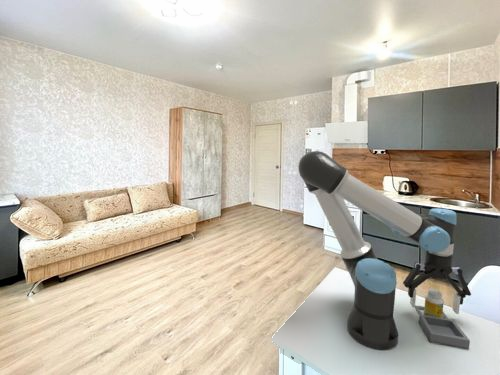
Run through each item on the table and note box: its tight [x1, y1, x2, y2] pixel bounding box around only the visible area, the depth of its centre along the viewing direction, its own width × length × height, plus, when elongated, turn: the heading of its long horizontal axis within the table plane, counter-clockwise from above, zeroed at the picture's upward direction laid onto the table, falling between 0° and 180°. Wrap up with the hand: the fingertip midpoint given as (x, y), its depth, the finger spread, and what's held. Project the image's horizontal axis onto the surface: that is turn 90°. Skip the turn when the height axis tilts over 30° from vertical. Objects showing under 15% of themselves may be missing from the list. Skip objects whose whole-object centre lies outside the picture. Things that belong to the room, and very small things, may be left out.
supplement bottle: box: [423, 288, 445, 318], centre depth 89 cm, size 5×5×10 cm
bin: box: [418, 314, 471, 350], centre depth 80 cm, size 10×10×3 cm
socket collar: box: [414, 304, 450, 319], centre depth 90 cm, size 9×9×1 cm
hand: (433, 308), depth 89 cm, fingers open, 13 cm apart
